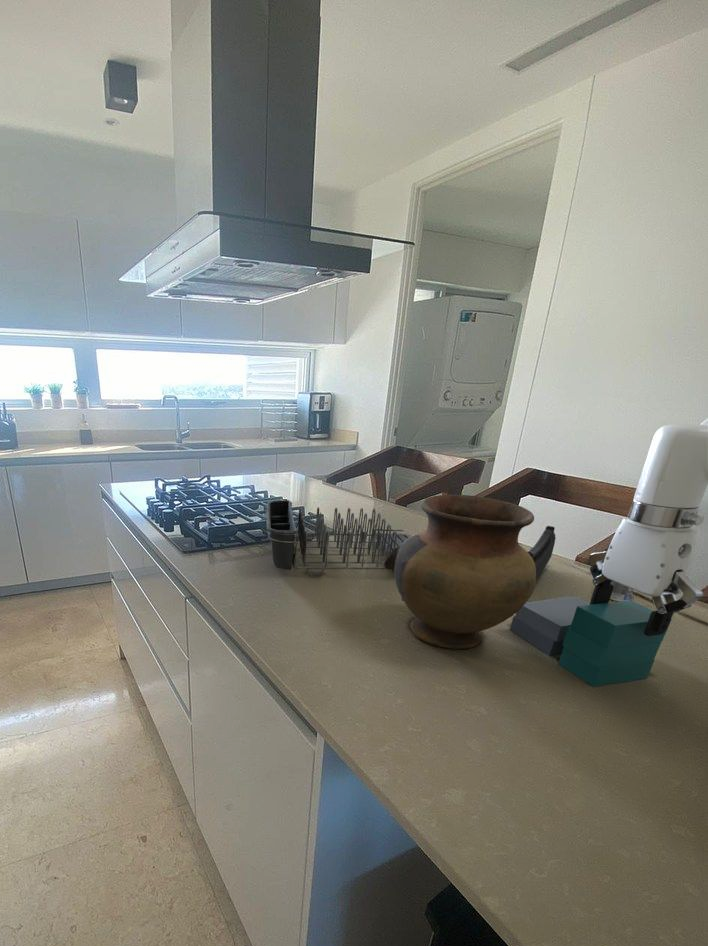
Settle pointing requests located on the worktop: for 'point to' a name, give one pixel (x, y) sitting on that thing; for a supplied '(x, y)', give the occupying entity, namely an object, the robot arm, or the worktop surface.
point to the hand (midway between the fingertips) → (624, 620)
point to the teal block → (614, 623)
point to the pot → (464, 569)
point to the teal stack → (606, 660)
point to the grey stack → (546, 622)
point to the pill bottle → (620, 592)
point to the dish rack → (326, 537)
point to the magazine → (543, 550)
